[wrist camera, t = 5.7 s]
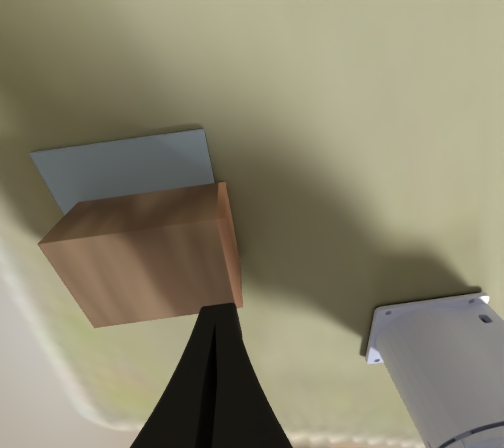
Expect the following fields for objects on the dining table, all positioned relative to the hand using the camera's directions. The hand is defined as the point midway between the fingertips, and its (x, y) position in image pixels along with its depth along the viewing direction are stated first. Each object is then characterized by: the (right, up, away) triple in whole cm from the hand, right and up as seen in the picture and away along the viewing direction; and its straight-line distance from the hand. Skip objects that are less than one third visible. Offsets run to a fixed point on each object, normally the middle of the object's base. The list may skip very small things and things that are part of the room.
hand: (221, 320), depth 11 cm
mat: (-5, +3, +6) cm, 9 cm away
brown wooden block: (0, +3, +4) cm, 5 cm away
